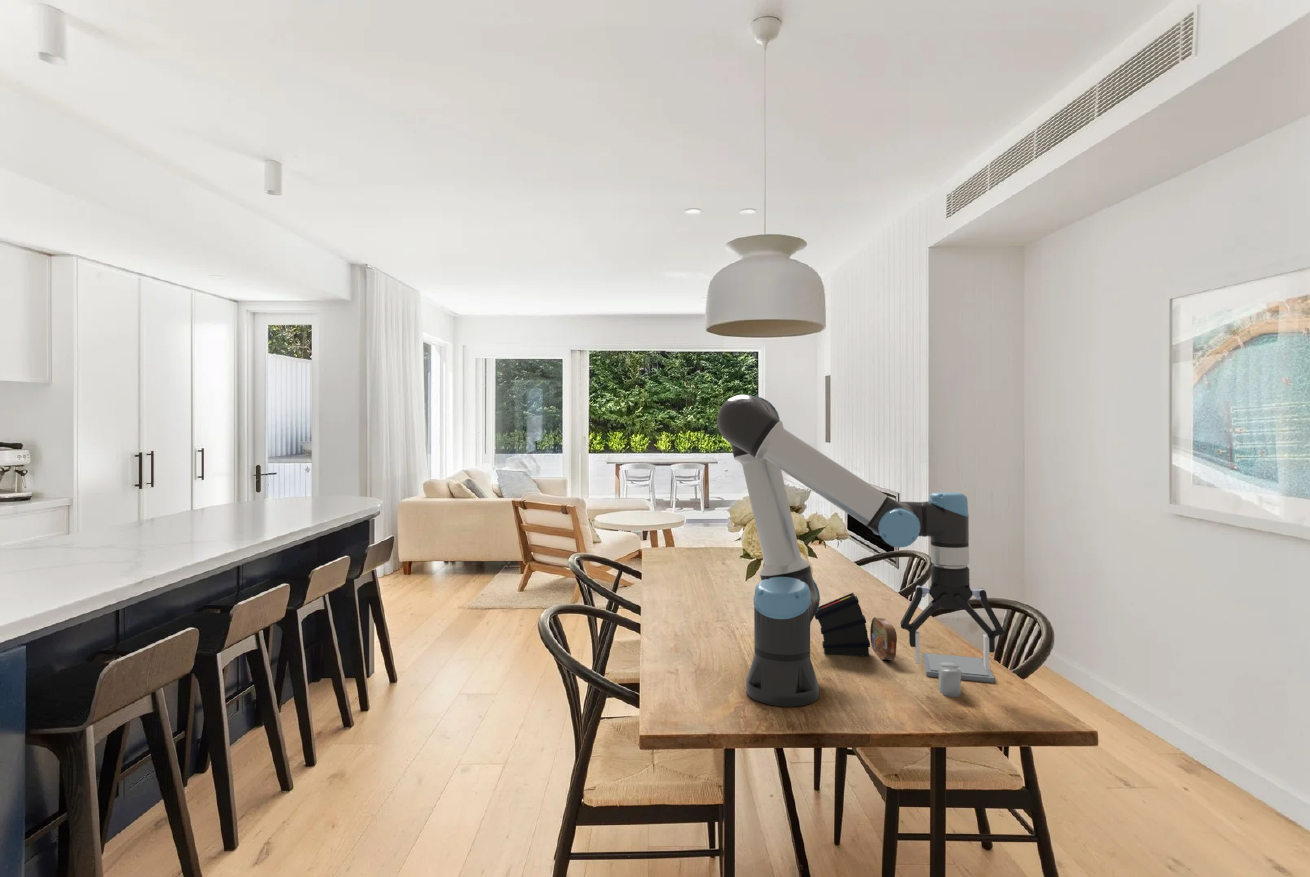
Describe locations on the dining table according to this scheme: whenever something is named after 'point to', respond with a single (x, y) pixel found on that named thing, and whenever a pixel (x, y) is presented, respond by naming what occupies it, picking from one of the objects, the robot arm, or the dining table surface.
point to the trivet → (968, 666)
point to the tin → (883, 638)
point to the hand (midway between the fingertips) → (951, 664)
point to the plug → (949, 679)
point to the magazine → (843, 627)
